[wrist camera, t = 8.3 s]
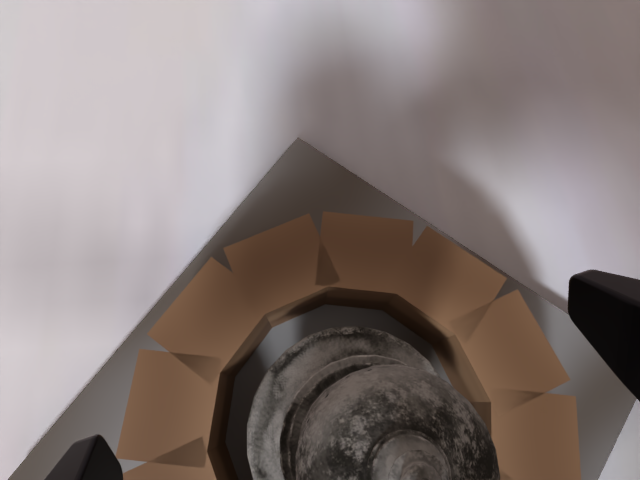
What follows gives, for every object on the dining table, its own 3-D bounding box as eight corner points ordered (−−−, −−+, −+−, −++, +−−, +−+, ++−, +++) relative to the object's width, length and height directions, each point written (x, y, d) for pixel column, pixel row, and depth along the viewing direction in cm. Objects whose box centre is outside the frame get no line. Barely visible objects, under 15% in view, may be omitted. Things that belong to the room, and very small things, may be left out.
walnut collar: (640, 369, 18) (718, 362, 14) (412, 839, 13) (447, 991, 10) (298, 144, 20) (295, 93, 17) (18, 476, 16) (-60, 497, 13)
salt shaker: (269, 333, 17) (193, 206, 6) (429, 346, 17) (665, 245, 6) (248, 515, 15) (77, 848, 4) (429, 530, 15) (775, 909, 4)
